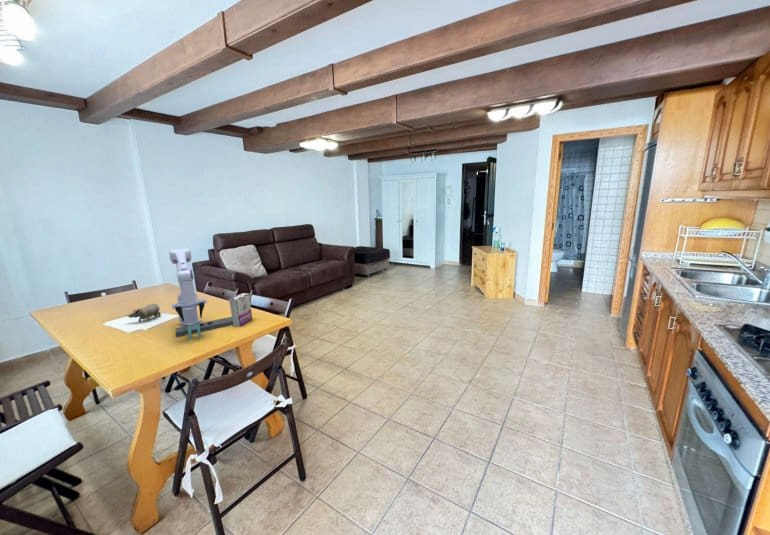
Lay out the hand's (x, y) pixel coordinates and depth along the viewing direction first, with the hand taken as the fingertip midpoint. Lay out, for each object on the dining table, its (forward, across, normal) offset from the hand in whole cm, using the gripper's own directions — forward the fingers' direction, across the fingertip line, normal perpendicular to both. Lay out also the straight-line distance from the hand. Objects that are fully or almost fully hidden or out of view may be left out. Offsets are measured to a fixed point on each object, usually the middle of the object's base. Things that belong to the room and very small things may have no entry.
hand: (192, 319), depth 152 cm
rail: (+10, +6, +11) cm, 16 cm away
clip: (+10, 0, 0) cm, 10 cm away
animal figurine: (+10, -24, +47) cm, 53 cm away
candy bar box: (+10, +24, +7) cm, 27 cm away
